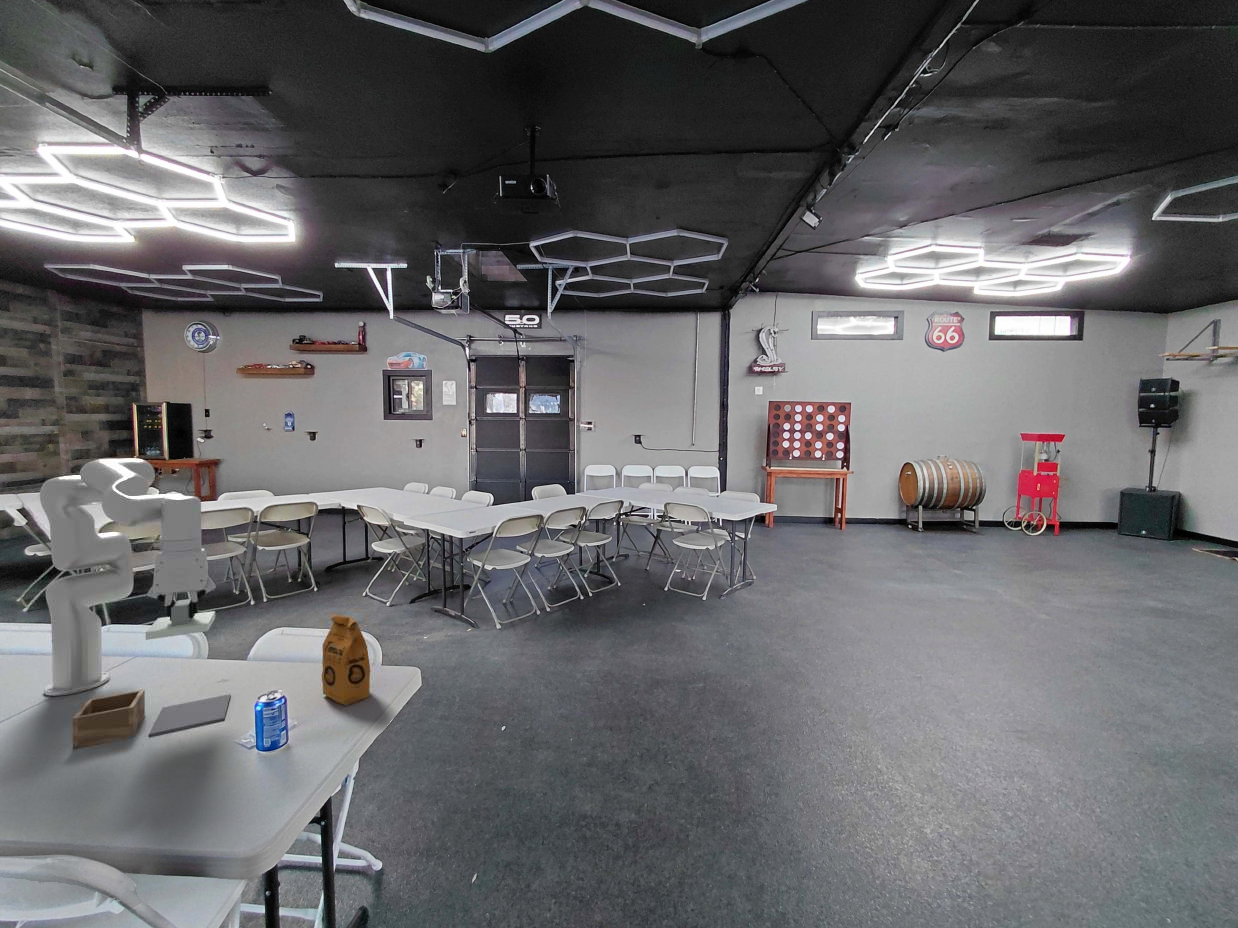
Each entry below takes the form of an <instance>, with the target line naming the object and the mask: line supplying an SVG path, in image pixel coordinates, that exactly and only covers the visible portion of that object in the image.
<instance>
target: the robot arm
mask: <svg viewBox="0 0 1238 928" xmlns="http://www.w3.org/2000/svg"><path fill="white" fill-rule="evenodd" d="M155 478H156V472H155V469H154V467H153V465H152V464H151V463H150V462H148V461H146V460H144V459H142V458H100V459H99V458H98V459H94V460H91V461H89V462H87V463H85V464H84V465H83V466H82V467H81V468H80V470H79V475H78V474H77V475H75V474H74V475H65V476H58V477H53V478H50V479H47V480H46V481H44V482H43V484H42V485H41V487H40V490H39V501H40V505H41V507H42V510H43V512H44V514H45V515H46V517H47V520H48V523H49V529H50V530H49V533H50V534H49V535H50V550H51V561H52V564H53V566H54V567H55V568H56V569H57V570H58V571H63V572H65V571H66V572H68V571H77V570H83V569H91V568H96V567H102V566H103V567H104V566H105V569H102V570H95V571H90V572H83V573H79V574H78V573H77V574H72V575H67V576H63V577H61V578H57V579H55V580H54V581H52V582H51V583H50V584H48V586H47V587H46V590H45V600H46V603H47V606H48V611H49V615H50V624H51V629H50V630H51V666H52V667H51V668H52V669H51V673H52V674H51V675H52V676H51V677H52V679H51V680H52V682H51V683H49V684H48V685H46V686H45V687H44V688H43V694H45V695H46V696H53V697H55V696H56V697H57V696H58V697H59V696H66V695H73V694H77V693H81V692H85V691H88V690H91V689H94V688H96V687H100V686H102V685H103V684H105V683H106V682H108V681H109V680H110V678H111V676H110V675H111V674H110V673H109V672H106V671H103V653H102V651H103V650H102V649H103V647H102V645H103V643H102V642H103V641H102V639H103V637H102V634H103V633H102V619H101V618H100V617H99V615H98V614H97V613H96V612H94V611H92V610H91V609H90V608H91V607H93V606H96V605H97V606H98V605H100V604H101V605H102V604H105V603H106V604H107V603H111V602H115V601H119V600H122V599H125V598H128V596H130V595H131V593H132V591H133V590H134V584H135V583H134V566H133V564H134V563H133V549H132V544H131V541H130V539H129V538H128V537H127V536H126V535H125V534H124V533H122V532H119V531H110V532H109V531H108V532H101V533H100V532H99V533H96V527H95V519H94V516H93V515H92V514H91V513H90V512H89V511H88V510H87V509H86V508H84V507H83V506H95V505H101V508H102V511H103V513H104V514H105V516H106V517H107V518H109V519H110V520H111V521H113V522H114V523H117V524H118V525H120V526H123V527H128V528H135V527H136V528H137V527H144V526H146V527H147V526H154V525H161V526H160V527H161V540H160V541H159V542H154V543H153V549H159V550H160V552H158V553H157V554H156V557H155V562H154V570H153V580H152V583H153V584H152V586H151V587H150V588H149V590H148V592H147V593H146V596H147V597H150V598H153V599H156V600H158V601H160V602H161V603H163V604H164V605H165V606H166V617H170V621H171V608H172V607H173V606H174V605H175V604H176V602H177V601H175V594H177V593H178V594H179V593H186V592H190V593H189V594H190V599H191V600H190V603H189V618H193V617H194V616H195V614H197V613H199V600H200V599H201V598H202V597H203V596H205V595H206V594H208V593H209V592H211V591H215V589H216V588H217V585H216V584H215V583H214V581H213V580H212V579H211V577H210V573H209V563H208V558H207V557H208V556H207V554H206V550H205V548H202V501H201V499H200V498H199V497H198V496H191V495H184V494H180V493H165V494H152V495H150V494H148V492H149V490H150V486H151V485H152V484H153V483H154V481H155Z"/></svg>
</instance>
